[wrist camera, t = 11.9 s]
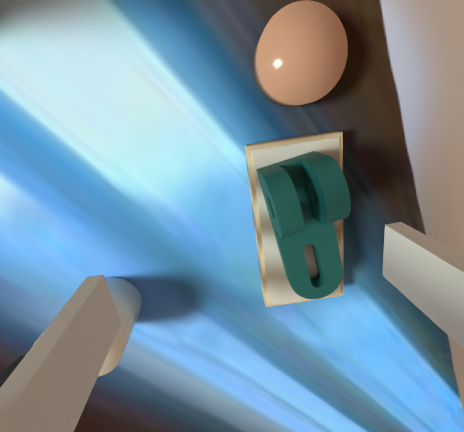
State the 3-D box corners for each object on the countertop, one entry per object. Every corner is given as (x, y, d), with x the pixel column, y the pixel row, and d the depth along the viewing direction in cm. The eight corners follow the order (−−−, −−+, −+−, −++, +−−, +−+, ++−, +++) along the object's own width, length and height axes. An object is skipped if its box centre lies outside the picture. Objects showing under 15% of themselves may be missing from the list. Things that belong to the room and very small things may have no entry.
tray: (244, 144, 32) (247, 146, 30) (333, 131, 32) (343, 131, 30) (263, 296, 39) (266, 308, 37) (336, 285, 40) (344, 296, 37)
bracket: (256, 169, 31) (268, 182, 23) (312, 151, 30) (343, 158, 23) (291, 295, 36) (310, 338, 29) (339, 280, 36) (371, 320, 29)
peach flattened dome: (248, 23, 29) (252, 8, 25) (330, 11, 29) (347, -7, 25) (257, 112, 32) (263, 110, 28) (332, 100, 32) (348, 97, 28)
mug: (58, 284, 37) (11, 331, 29) (134, 272, 37) (109, 316, 29) (77, 330, 40) (38, 385, 31) (148, 319, 40) (129, 371, 31)
